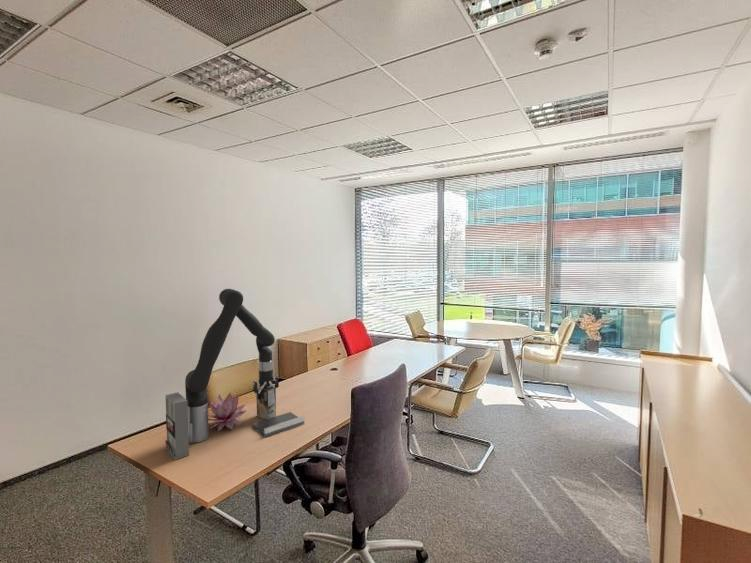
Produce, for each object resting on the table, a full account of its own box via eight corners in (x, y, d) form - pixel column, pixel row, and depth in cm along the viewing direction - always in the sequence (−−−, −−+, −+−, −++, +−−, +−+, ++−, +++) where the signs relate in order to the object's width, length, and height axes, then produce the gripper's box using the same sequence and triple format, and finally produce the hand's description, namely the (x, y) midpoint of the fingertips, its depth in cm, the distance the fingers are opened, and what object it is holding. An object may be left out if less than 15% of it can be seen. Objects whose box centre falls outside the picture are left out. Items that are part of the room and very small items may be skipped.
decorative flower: (254, 420, 198) (254, 392, 197) (228, 438, 177) (228, 407, 177) (221, 415, 204) (221, 388, 203) (192, 432, 183) (191, 402, 183)
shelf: (265, 437, 179) (265, 429, 179) (252, 426, 190) (252, 418, 190) (304, 423, 194) (304, 416, 193) (290, 414, 205) (290, 407, 205)
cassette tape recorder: (165, 448, 168) (163, 395, 166) (179, 444, 172) (177, 392, 170) (174, 460, 158) (172, 404, 156) (189, 455, 162) (187, 400, 161)
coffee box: (276, 415, 203) (276, 387, 202) (268, 420, 198) (268, 391, 197) (264, 412, 208) (264, 384, 207) (256, 416, 202) (255, 388, 201)
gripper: (256, 372, 194) (256, 403, 195) (280, 367, 203) (281, 396, 204) (250, 369, 199) (250, 398, 200) (274, 364, 209) (275, 392, 210)
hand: (266, 397), depth 202 cm, fingers closed on coffee box, 7 cm apart
